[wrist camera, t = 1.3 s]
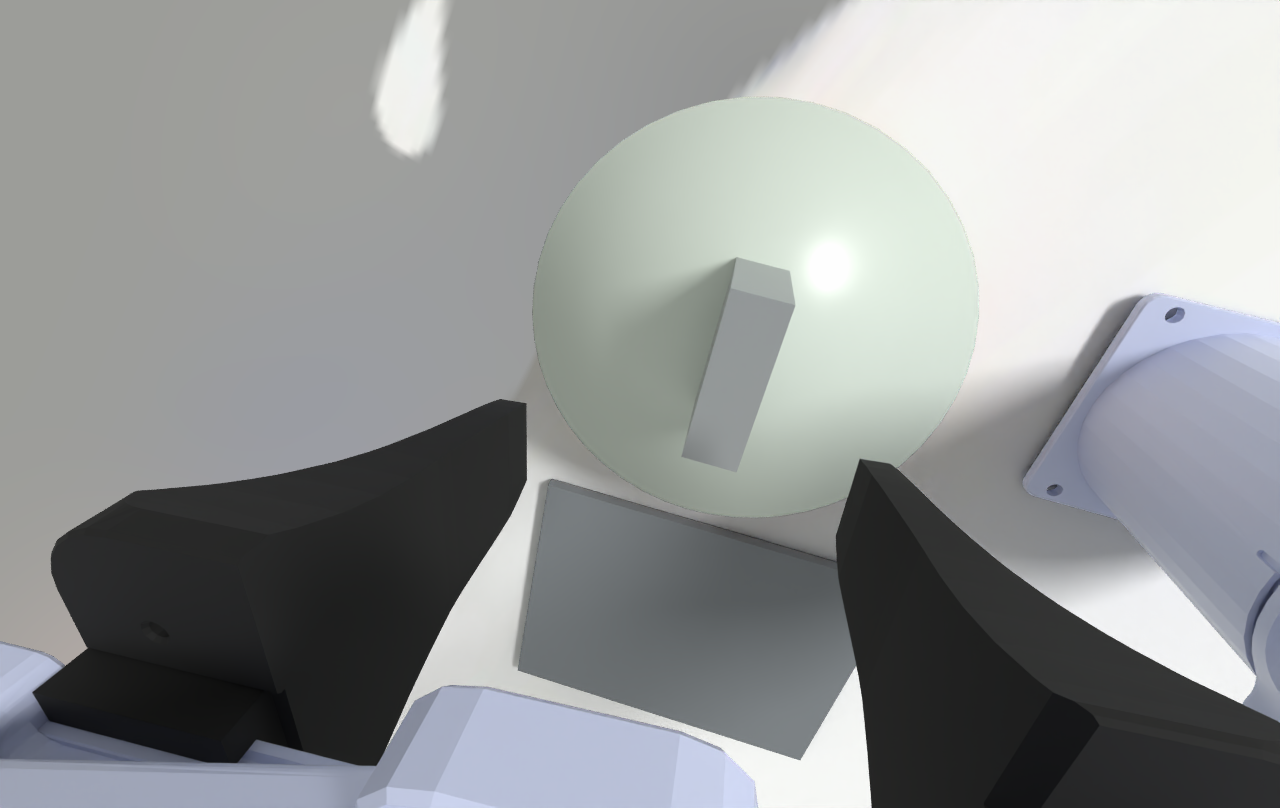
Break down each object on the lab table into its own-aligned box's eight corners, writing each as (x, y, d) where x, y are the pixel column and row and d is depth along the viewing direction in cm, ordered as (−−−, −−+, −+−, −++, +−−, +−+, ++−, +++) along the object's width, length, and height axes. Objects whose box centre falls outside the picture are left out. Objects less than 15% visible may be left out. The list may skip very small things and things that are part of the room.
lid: (1069, 163, 15) (1165, 178, 11) (865, 550, 21) (886, 638, 18) (570, 46, 16) (514, 25, 12) (518, 449, 22) (471, 514, 19)
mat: (898, 580, 25) (901, 588, 25) (799, 751, 31) (800, 760, 31) (551, 478, 26) (548, 485, 26) (521, 662, 33) (517, 670, 32)
